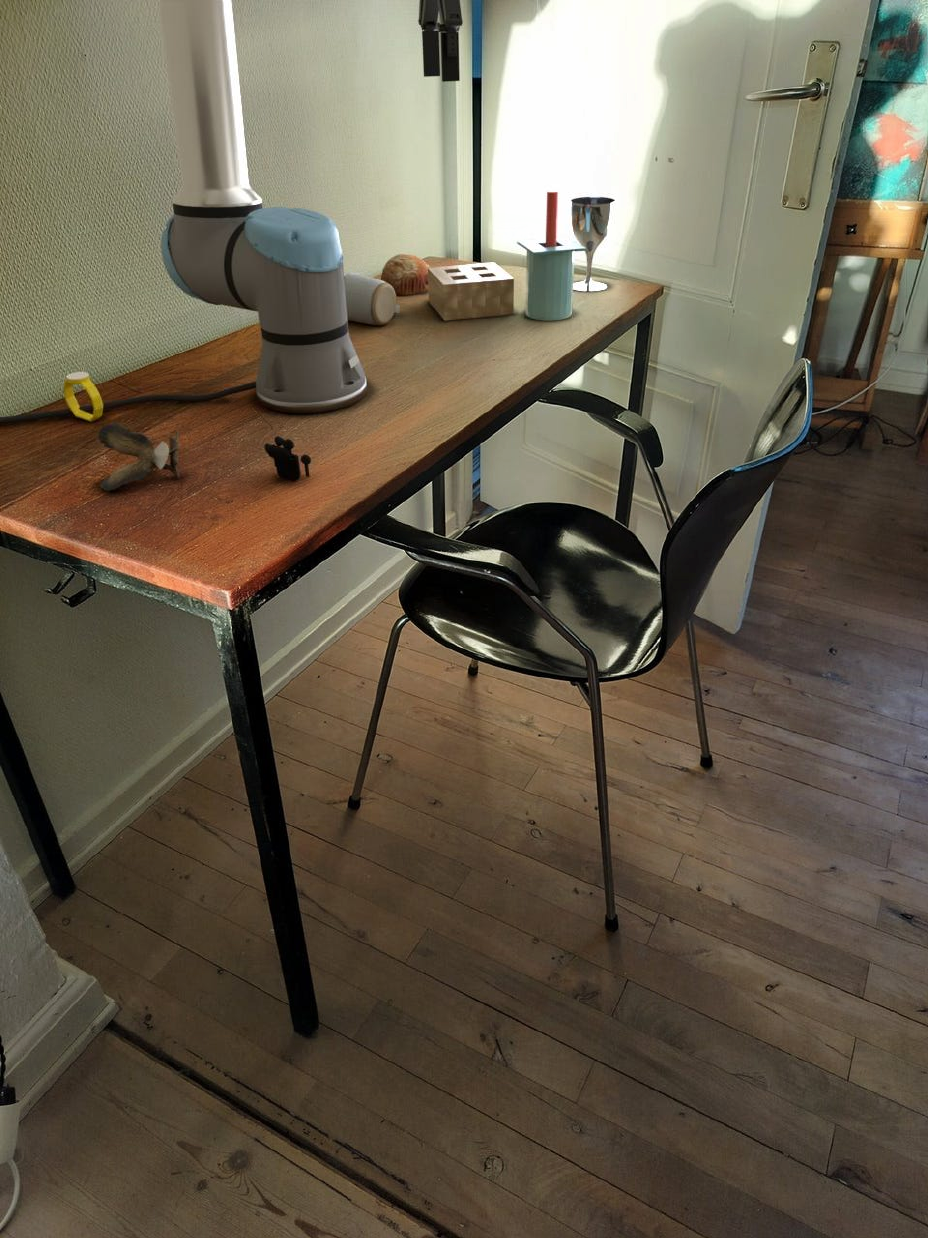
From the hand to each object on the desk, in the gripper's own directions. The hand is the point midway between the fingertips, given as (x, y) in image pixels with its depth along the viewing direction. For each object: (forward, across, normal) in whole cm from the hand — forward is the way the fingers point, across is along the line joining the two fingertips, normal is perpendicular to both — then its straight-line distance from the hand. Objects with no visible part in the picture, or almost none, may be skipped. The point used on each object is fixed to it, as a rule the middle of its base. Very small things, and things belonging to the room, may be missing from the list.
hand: (441, 78), depth 147 cm
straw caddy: (+35, -9, -2) cm, 36 cm away
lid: (+24, -17, -14) cm, 32 cm away
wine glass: (+35, -2, -27) cm, 44 cm away
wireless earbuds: (+35, -71, +36) cm, 87 cm away
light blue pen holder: (+35, -17, -14) cm, 41 cm away
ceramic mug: (+35, -11, +16) cm, 40 cm away
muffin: (+35, +8, +6) cm, 36 cm away
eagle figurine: (+35, -66, +52) cm, 91 cm away
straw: (+34, -17, -14) cm, 41 cm away
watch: (+35, -44, +60) cm, 82 cm away
